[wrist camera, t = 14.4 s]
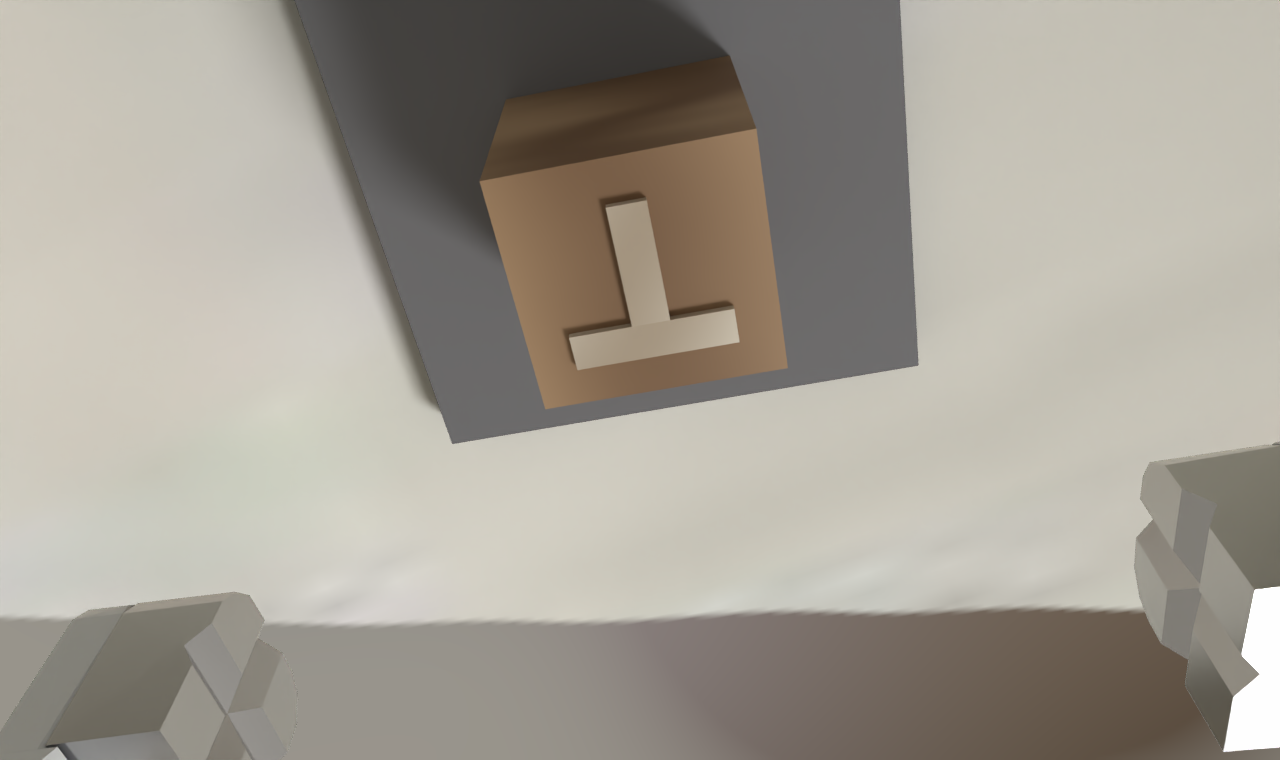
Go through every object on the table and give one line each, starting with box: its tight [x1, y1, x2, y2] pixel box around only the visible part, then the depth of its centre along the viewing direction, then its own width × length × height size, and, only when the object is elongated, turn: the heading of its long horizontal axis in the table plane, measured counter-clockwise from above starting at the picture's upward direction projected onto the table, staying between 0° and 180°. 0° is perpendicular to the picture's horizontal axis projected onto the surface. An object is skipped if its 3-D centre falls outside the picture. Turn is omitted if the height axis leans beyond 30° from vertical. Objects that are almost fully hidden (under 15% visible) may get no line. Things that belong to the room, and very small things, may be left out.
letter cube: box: [480, 55, 788, 409], centre depth 17 cm, size 4×4×4 cm
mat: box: [295, 0, 918, 444], centre depth 19 cm, size 10×10×1 cm
